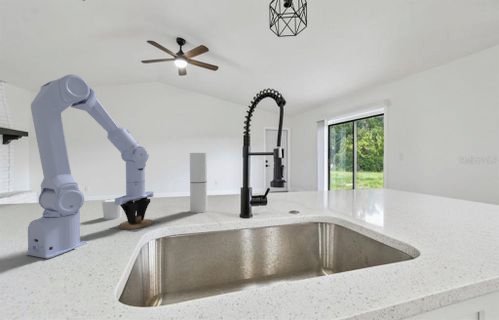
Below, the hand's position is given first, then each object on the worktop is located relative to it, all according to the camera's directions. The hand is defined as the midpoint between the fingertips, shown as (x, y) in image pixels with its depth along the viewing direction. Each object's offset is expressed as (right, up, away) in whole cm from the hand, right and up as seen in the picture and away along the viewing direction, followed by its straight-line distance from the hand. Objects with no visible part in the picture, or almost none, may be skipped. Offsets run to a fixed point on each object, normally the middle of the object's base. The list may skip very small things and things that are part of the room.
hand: (136, 221), depth 74 cm
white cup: (-14, -2, +9) cm, 17 cm away
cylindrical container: (+17, -1, +20) cm, 26 cm away
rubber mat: (0, -1, 0) cm, 1 cm away
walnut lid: (0, -1, 0) cm, 1 cm away
